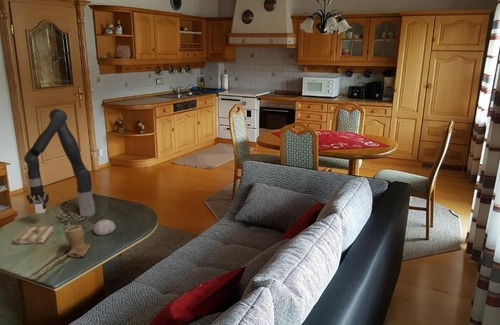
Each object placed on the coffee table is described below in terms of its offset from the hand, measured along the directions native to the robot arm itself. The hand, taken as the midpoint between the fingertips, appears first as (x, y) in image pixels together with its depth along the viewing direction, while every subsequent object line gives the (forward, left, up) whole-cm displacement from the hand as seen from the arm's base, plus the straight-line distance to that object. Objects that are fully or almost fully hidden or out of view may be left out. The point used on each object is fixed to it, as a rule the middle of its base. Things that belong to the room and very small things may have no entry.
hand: (40, 209), depth 264 cm
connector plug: (0, 0, -2) cm, 2 cm away
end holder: (-4, +20, -11) cm, 23 cm away
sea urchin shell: (-44, +14, -12) cm, 47 cm away
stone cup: (-36, +40, -11) cm, 55 cm away
